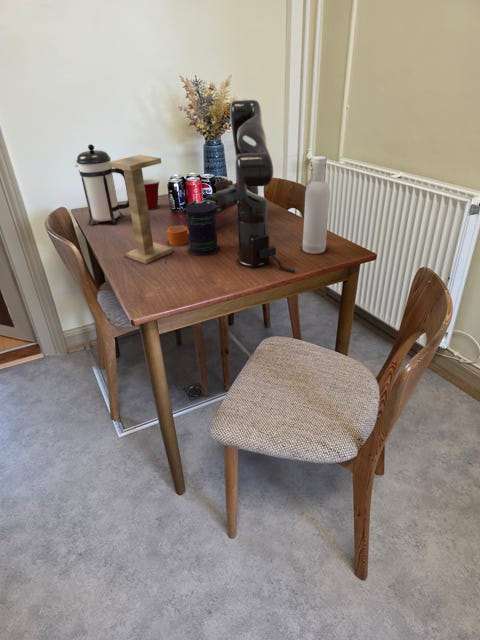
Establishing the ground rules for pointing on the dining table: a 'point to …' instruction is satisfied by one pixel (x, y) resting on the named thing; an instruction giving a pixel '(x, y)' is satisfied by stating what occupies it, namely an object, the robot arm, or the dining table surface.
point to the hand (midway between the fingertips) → (189, 213)
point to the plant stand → (140, 208)
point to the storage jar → (201, 228)
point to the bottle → (316, 210)
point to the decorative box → (222, 184)
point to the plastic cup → (151, 192)
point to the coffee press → (99, 185)
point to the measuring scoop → (178, 235)
